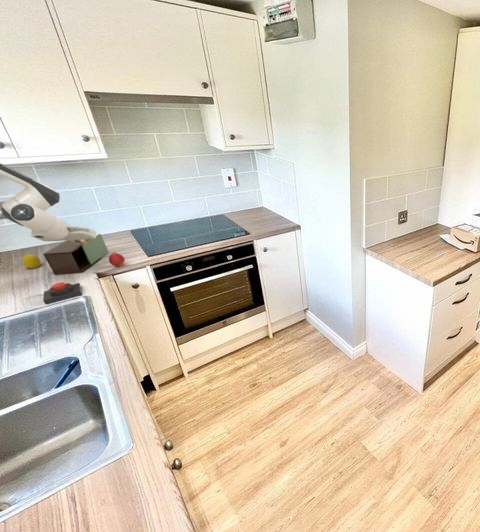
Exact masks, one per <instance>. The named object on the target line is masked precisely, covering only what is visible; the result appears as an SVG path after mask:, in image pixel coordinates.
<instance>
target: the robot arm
mask: <svg viewBox="0 0 480 532" xmlns="http://www.w3.org/2000/svg"><path fill="white" fill-rule="evenodd" d="M0 176H1V177H4V178H5V179H8V180H10V181H11V182H14V183H16V184H18V185H21V186H22V187H24V189H22V190H21V191H19V192H18V193H16V194H15V195H14V196H12V197H10V198H9V199H8V200H6V201H5V202H4V203H2V204H1V205H0V210H1V214H2V215H3V216H4V217H5V218H6V219H8V220H9V221H11V222H13V223H15V224H17V225H19V226H21V227H25V228H27V229H29V230H31V231H30V237H32V238H33V239H37V240H40V241H42V242H60V241H61V242H65V241H67V240H68V241H74V242H83V241H84V239H95V238H96V236H97V235H98V234H97V233H98V232H97V231H96V230H95V229H92V228H89V227H88V226H83V225H75V226H74V225H73V226H71V224H69V223H68V221H65V220H63V219H61V218H60V217H57V216H54V215H52V213H50V212H48V211H47V210H48V209H49V208H51V207H53V206H55V205H56V204H58V203H60V199H61V196H60V193H59V191H58V190H57V189H55V188H54V187H52V186H50V185H48V184H46V183H43V182H41V181H39V180H36V179H35V178H32V177H29V176H27V175H26V174H23V173H21V172H20V171H18V170H15V169H13V168H11V167H9V166H7V165H5V164H3V163H0Z"/></svg>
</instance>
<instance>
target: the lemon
mask: <svg viewBox="0 0 480 532" xmlns="http://www.w3.org/2000/svg"><path fill="white" fill-rule="evenodd" d="M21 261H22V264H23V266H25V267H26V268H28V269H38V268H39V267H40V266H41V264H42V261H41V259H40V258H39V257H38V256H37V255H35V254H32V253H31V254H30V253H26V254H25V255H24V256H22V259H21Z"/></svg>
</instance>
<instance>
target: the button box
mask: <svg viewBox="0 0 480 532" xmlns="http://www.w3.org/2000/svg"><path fill="white" fill-rule="evenodd" d="M64 283H65V284H66V286H67V287H66V288H64V289H61V290H55V291H54V290H53V288H52V286H51V287H50V288H48V290H44V291H43V296H42V297H43V298H42V301H43V303H44V305H45V306H46V304H47V305H51V304H55V303H58V302H62V301H66V300H69V299H73V298H76V297H81V296H83V288H82V285H81V283H80V282H77V283H73V284H72V283H68V282H64Z"/></svg>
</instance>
